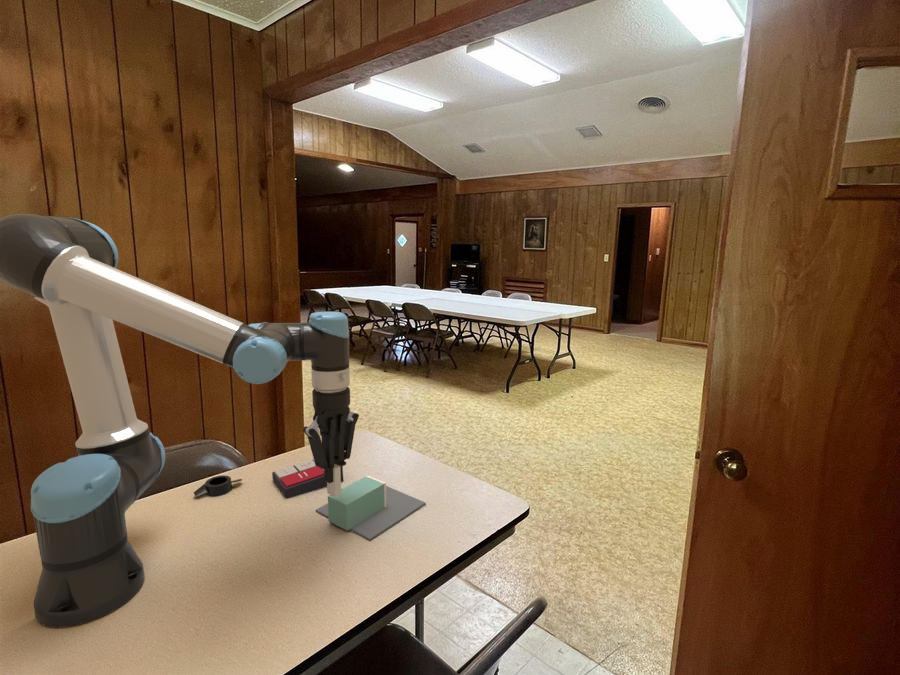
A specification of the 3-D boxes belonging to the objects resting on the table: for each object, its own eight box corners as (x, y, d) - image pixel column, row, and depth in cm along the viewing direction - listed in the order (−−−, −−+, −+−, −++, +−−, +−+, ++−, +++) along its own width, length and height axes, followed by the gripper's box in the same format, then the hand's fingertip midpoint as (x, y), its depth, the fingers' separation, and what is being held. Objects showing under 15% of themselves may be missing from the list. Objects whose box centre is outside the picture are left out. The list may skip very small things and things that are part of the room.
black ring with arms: (203, 485, 119) (202, 475, 118) (244, 482, 121) (243, 472, 120) (191, 501, 112) (190, 490, 111) (236, 498, 113) (235, 487, 113)
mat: (315, 511, 107) (315, 509, 107) (372, 481, 121) (372, 480, 121) (370, 541, 97) (370, 539, 97) (425, 504, 111) (425, 502, 111)
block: (327, 496, 102) (367, 475, 111) (328, 521, 103) (368, 498, 112) (346, 505, 98) (386, 482, 108) (347, 530, 99) (386, 506, 109)
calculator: (271, 469, 120) (326, 452, 129) (273, 484, 121) (327, 466, 130) (284, 486, 112) (343, 467, 121) (286, 502, 113) (344, 482, 122)
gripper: (316, 399, 88) (320, 513, 92) (367, 384, 98) (368, 487, 102) (292, 391, 92) (297, 500, 96) (343, 377, 102) (345, 477, 107)
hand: (334, 493), depth 99 cm, fingers closed
